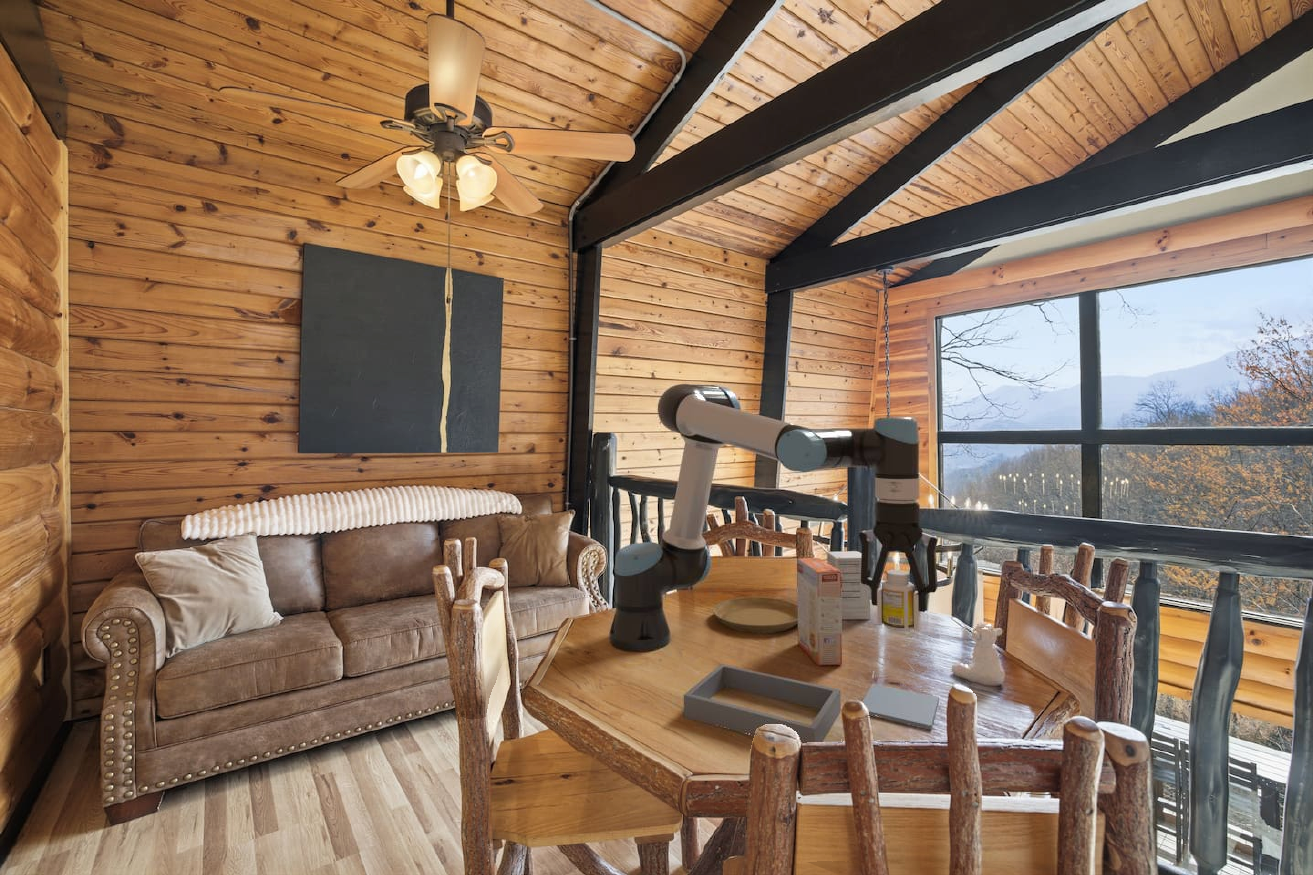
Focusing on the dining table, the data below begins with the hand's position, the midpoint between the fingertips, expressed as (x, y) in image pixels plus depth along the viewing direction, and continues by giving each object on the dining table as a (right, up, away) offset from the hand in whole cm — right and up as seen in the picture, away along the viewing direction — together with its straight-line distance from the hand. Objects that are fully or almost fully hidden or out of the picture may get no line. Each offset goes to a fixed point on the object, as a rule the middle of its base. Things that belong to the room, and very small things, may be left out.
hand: (898, 625), depth 107 cm
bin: (-25, -16, -1) cm, 30 cm away
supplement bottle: (0, -1, 0) cm, 1 cm away
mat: (0, -15, 0) cm, 15 cm away
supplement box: (+9, -15, +54) cm, 56 cm away
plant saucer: (-17, -16, +50) cm, 55 cm away
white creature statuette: (+22, -15, +11) cm, 29 cm away
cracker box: (-7, -15, +26) cm, 31 cm away
